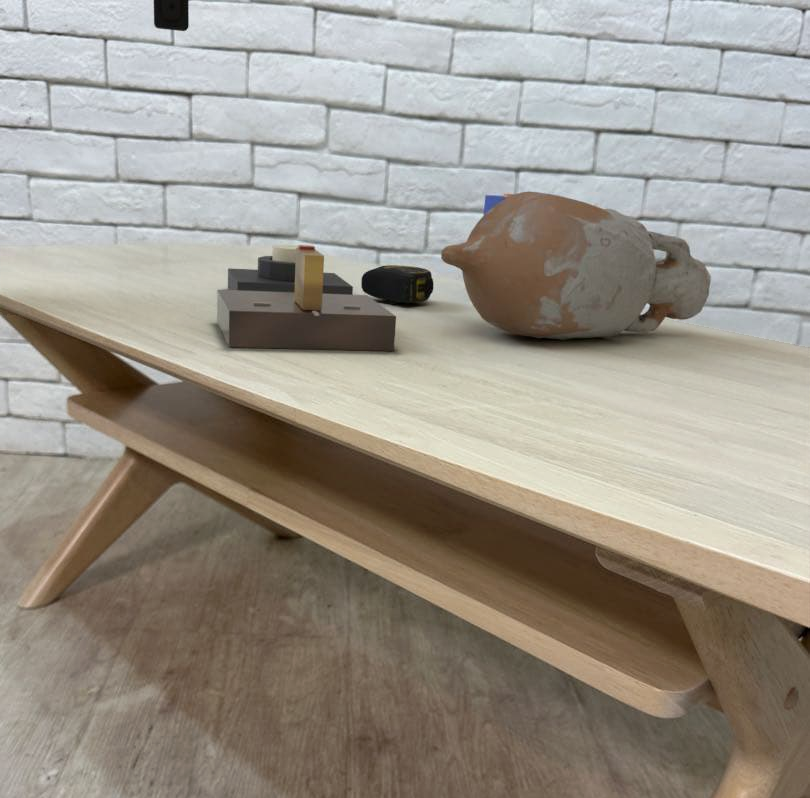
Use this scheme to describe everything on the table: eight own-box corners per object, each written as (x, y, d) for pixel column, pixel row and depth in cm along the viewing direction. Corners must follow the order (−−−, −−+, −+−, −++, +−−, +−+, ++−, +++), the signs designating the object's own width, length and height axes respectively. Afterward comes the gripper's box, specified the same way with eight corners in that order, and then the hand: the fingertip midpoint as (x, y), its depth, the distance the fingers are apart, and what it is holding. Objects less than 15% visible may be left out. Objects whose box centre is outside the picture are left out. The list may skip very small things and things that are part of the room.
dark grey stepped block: (237, 303, 102) (237, 263, 100) (227, 288, 111) (228, 251, 109) (351, 307, 105) (354, 268, 104) (333, 292, 114) (335, 256, 112)
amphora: (405, 188, 91) (668, 146, 101) (407, 350, 100) (647, 295, 111) (481, 234, 81) (764, 182, 91) (475, 409, 90) (732, 343, 101)
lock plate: (230, 350, 81) (230, 311, 79) (217, 322, 91) (217, 287, 90) (397, 354, 84) (399, 316, 83) (365, 327, 95) (367, 293, 94)
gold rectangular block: (321, 311, 83) (324, 252, 82) (302, 310, 83) (305, 251, 81) (312, 301, 88) (314, 245, 86) (294, 300, 87) (295, 244, 86)
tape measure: (357, 300, 110) (358, 265, 108) (397, 296, 115) (399, 263, 113) (404, 310, 106) (406, 274, 105) (443, 305, 111) (446, 271, 110)
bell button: (274, 265, 104) (275, 247, 104) (270, 260, 108) (270, 243, 107) (308, 266, 105) (309, 249, 105) (303, 262, 109) (303, 245, 108)
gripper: (125, -183, 96) (130, 30, 102) (126, -231, 82) (132, 18, 89) (204, -170, 98) (204, 38, 104) (218, -215, 84) (217, 27, 91)
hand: (171, 28), depth 97 cm, fingers closed
